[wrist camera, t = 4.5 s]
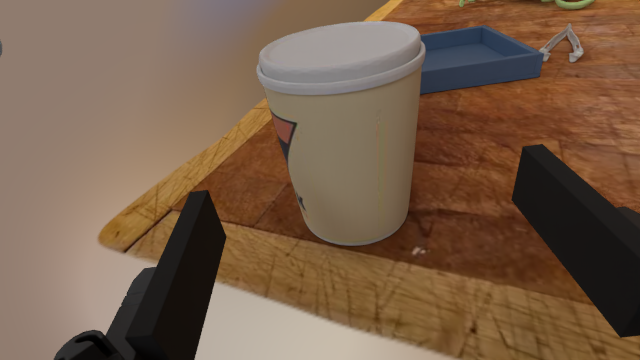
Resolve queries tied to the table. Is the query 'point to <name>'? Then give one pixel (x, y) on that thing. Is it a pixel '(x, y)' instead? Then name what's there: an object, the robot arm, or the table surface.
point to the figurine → (566, 5)
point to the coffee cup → (347, 123)
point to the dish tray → (475, 59)
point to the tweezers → (559, 37)
